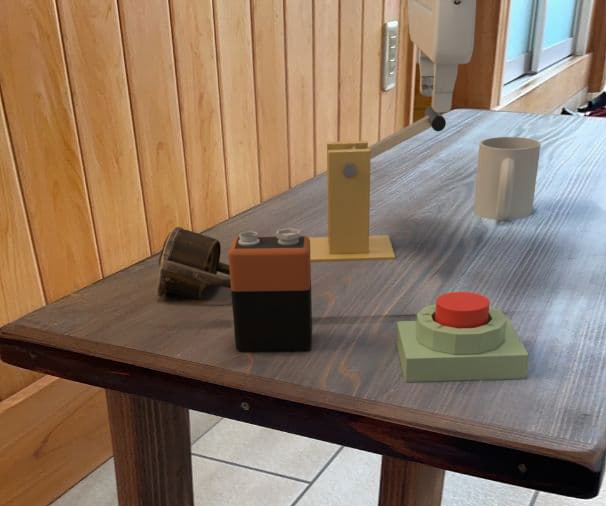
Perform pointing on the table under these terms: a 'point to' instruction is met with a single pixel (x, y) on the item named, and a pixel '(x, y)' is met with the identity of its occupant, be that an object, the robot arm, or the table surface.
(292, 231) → the battery
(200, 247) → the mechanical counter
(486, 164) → the cup
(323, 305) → the table surface
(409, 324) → the switch block
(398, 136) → the lever
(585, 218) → the table surface
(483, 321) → the button
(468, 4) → the robot arm
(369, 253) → the bracket
